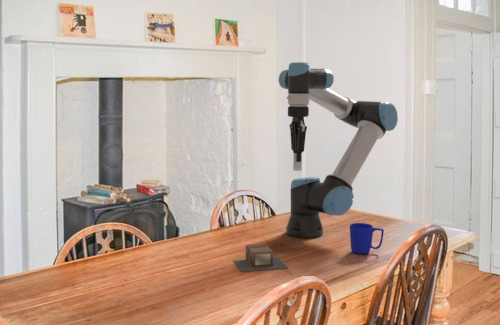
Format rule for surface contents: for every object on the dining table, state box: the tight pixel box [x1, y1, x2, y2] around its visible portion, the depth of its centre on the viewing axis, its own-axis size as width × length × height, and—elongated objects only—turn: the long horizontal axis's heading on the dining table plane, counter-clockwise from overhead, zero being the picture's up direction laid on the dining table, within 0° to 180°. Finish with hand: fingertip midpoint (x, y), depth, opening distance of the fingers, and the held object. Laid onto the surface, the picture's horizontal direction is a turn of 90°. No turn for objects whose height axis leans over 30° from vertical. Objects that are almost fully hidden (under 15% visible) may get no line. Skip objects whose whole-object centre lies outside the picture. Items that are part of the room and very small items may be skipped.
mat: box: [233, 256, 289, 273], centre depth 195 cm, size 12×16×1 cm
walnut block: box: [245, 243, 274, 267], centre depth 196 cm, size 5×7×10 cm
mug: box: [349, 222, 384, 255], centre depth 209 cm, size 8×12×10 cm
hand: (297, 170), depth 211 cm, fingers closed
